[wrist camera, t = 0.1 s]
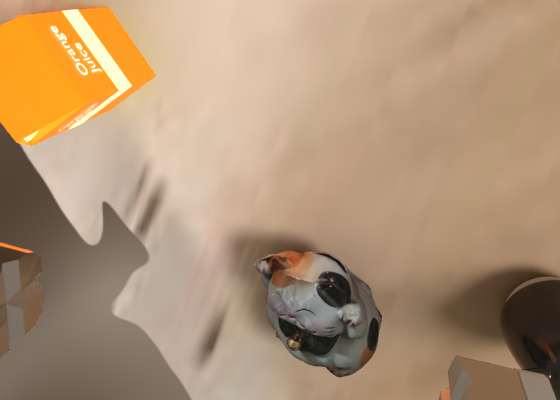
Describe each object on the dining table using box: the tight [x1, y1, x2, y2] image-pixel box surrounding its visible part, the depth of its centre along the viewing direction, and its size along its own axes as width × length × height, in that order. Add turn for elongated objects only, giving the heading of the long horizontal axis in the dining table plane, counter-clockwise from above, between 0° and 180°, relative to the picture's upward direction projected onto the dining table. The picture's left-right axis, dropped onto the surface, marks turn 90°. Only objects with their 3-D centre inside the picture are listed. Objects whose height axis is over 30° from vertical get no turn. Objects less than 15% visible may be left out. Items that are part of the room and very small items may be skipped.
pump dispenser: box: [500, 277, 560, 400], centre depth 52 cm, size 10×10×15 cm
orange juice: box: [0, 7, 156, 146], centre depth 49 cm, size 8×9×20 cm
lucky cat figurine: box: [253, 251, 382, 377], centre depth 58 cm, size 15×12×14 cm
